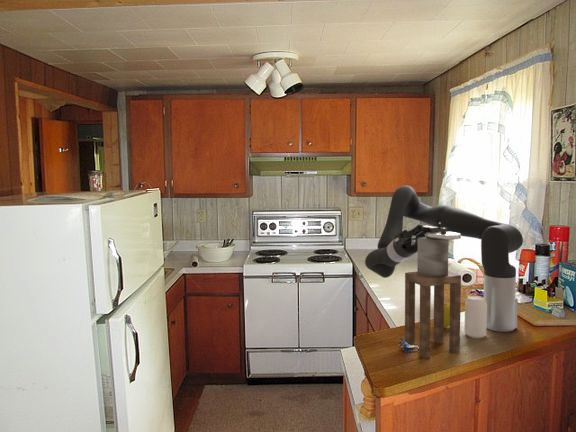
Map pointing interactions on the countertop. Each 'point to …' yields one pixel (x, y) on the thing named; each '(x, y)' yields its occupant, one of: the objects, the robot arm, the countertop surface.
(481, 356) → the countertop surface
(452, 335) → the stand
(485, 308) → the beverage can
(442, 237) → the cooker lid
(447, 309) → the lemon
